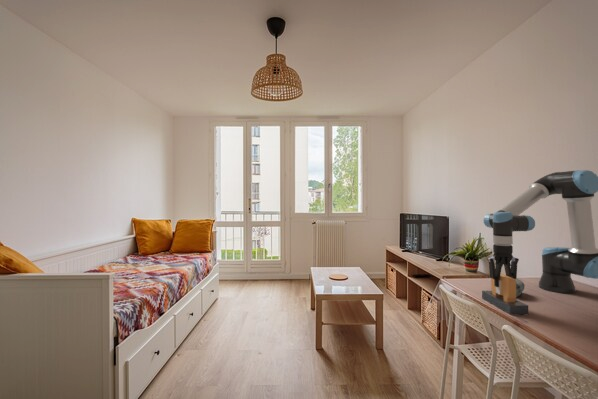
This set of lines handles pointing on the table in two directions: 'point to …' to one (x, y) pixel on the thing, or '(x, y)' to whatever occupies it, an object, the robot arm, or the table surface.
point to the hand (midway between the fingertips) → (503, 293)
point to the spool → (519, 287)
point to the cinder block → (505, 303)
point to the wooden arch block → (505, 288)
